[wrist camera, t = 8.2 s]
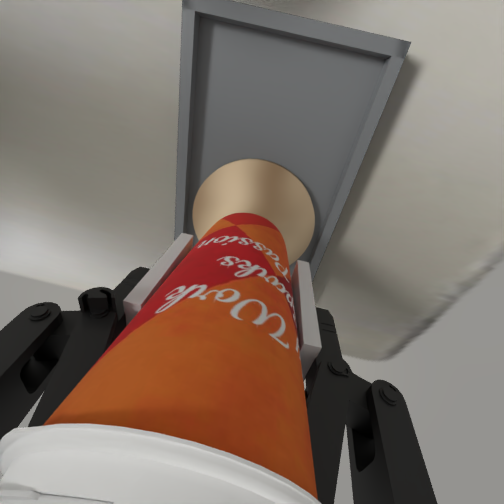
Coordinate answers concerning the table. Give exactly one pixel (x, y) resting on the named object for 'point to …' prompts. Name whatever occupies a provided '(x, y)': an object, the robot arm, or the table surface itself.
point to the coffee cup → (185, 393)
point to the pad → (257, 200)
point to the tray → (279, 103)
